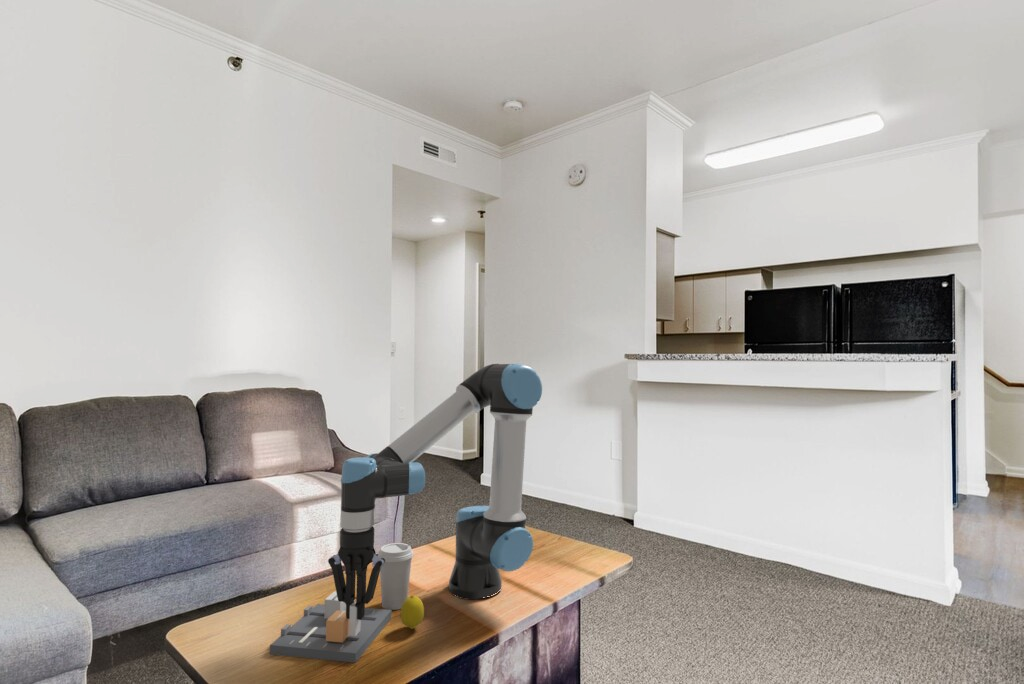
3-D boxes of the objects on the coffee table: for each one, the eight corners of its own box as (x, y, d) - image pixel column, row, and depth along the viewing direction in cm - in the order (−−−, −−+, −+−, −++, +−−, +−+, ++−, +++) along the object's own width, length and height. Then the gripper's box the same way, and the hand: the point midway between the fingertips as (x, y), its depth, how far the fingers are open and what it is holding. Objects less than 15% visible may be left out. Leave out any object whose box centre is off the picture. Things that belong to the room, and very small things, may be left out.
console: (391, 618, 138) (391, 604, 138) (355, 662, 118) (356, 646, 118) (317, 611, 141) (317, 598, 141) (269, 654, 121) (269, 638, 121)
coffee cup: (412, 611, 142) (413, 553, 143) (374, 613, 141) (376, 554, 141) (412, 596, 152) (414, 541, 152) (377, 598, 150) (378, 542, 151)
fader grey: (349, 610, 137) (349, 591, 137) (339, 619, 132) (340, 599, 132) (334, 609, 138) (334, 590, 138) (324, 618, 133) (324, 598, 133)
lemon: (401, 623, 135) (402, 591, 136) (424, 623, 136) (425, 590, 136) (399, 634, 130) (399, 600, 130) (422, 634, 130) (423, 600, 131)
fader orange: (352, 631, 126) (353, 611, 126) (342, 642, 121) (343, 621, 122) (336, 630, 127) (336, 609, 127) (325, 640, 122) (326, 619, 122)
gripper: (390, 524, 127) (388, 627, 126) (338, 521, 129) (335, 622, 128) (378, 534, 120) (375, 643, 119) (322, 530, 122) (319, 638, 121)
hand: (354, 632), depth 124 cm, fingers closed
